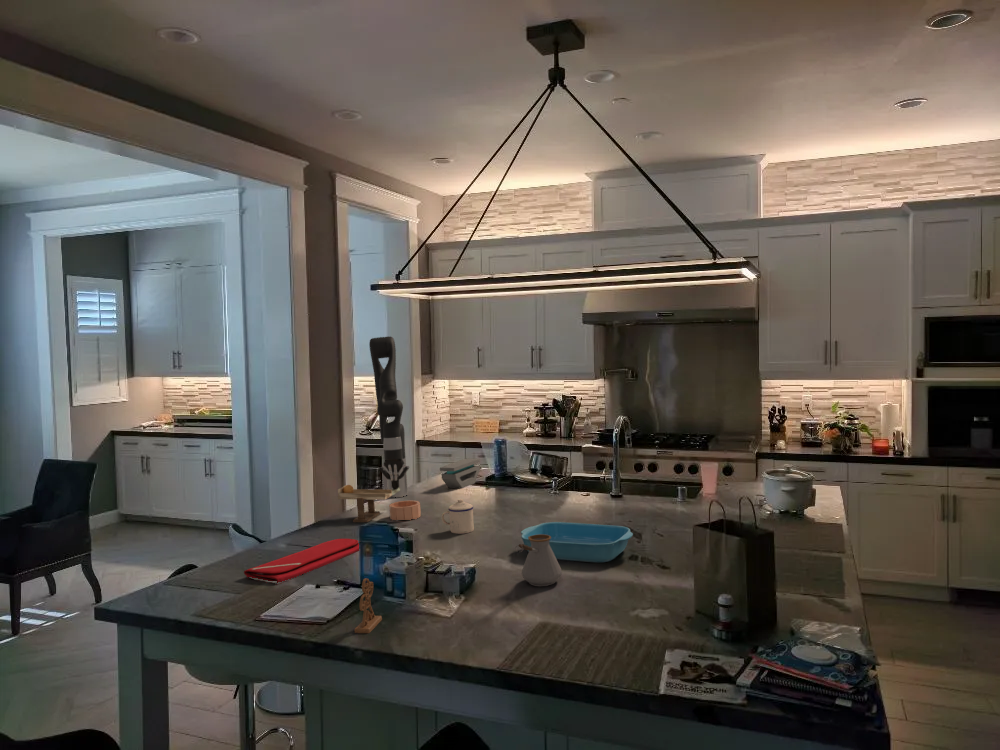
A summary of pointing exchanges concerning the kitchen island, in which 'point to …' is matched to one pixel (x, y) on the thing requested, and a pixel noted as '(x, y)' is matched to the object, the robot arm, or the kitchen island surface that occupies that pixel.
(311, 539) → the kitchen island surface
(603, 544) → the casserole dish
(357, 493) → the ramp
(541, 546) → the coffee pot
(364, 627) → the wooden sculpture
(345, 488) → the ball
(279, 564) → the dish drying mat
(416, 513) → the terracotta bowl
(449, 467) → the grey heat sealer
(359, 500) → the ramp stand
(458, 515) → the teacup with lid
